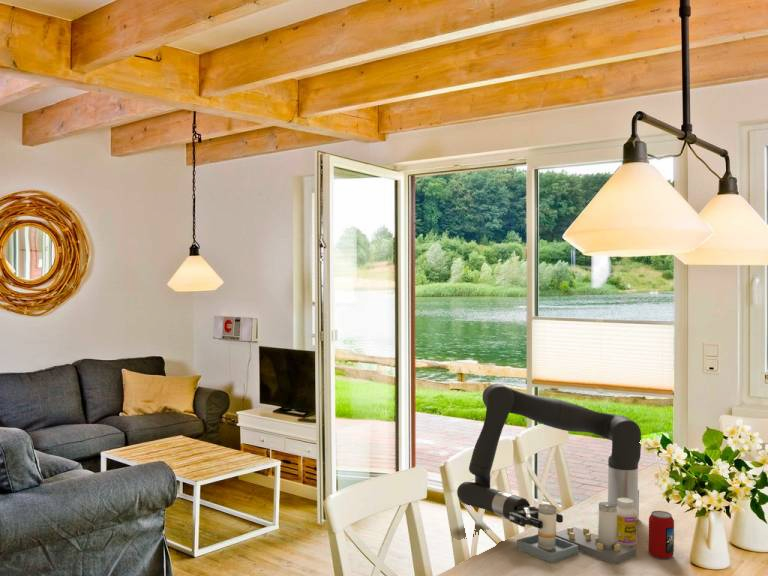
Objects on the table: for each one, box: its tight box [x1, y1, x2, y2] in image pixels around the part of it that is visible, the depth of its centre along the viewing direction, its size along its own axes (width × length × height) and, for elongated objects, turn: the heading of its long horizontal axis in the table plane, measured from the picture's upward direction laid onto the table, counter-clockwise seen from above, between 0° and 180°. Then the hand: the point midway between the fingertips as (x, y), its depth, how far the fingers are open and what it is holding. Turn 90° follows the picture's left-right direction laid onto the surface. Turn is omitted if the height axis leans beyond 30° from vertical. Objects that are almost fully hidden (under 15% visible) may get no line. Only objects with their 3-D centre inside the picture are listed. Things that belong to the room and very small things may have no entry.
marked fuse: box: [537, 503, 557, 552], centre depth 210 cm, size 5×5×12 cm
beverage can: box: [647, 510, 675, 560], centre depth 207 cm, size 7×7×12 cm
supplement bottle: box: [617, 498, 638, 547], centre depth 217 cm, size 7×7×13 cm
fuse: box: [597, 501, 617, 550], centre depth 209 cm, size 5×5×12 cm
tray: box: [515, 533, 579, 564], centre depth 210 cm, size 11×13×2 cm
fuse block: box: [556, 526, 637, 565], centre depth 213 cm, size 10×22×4 cm, turn 36°
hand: (552, 522), depth 208 cm, fingers open, 8 cm apart
